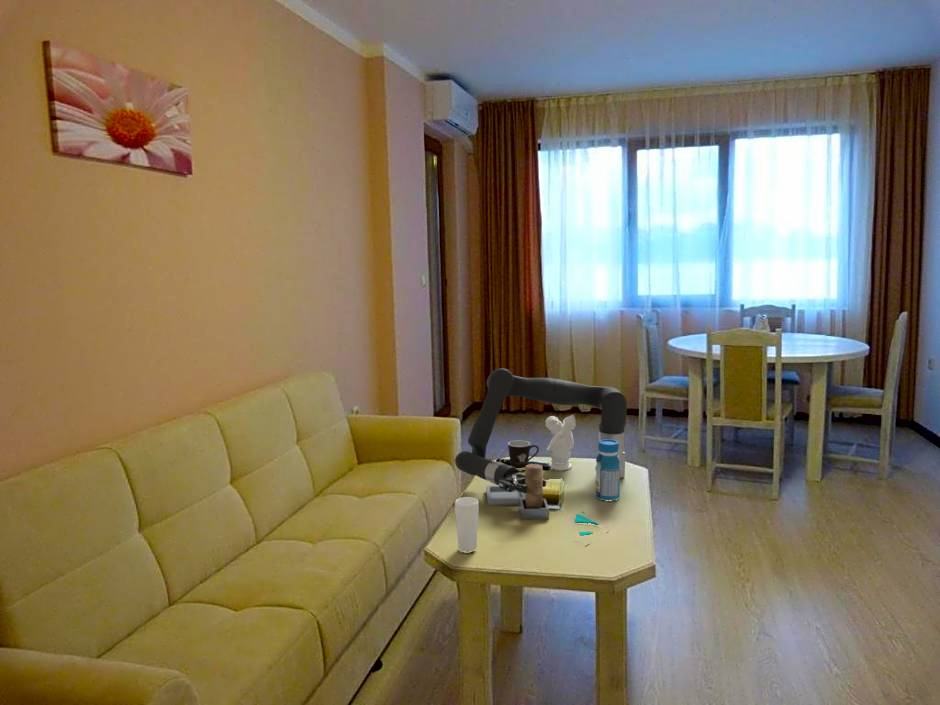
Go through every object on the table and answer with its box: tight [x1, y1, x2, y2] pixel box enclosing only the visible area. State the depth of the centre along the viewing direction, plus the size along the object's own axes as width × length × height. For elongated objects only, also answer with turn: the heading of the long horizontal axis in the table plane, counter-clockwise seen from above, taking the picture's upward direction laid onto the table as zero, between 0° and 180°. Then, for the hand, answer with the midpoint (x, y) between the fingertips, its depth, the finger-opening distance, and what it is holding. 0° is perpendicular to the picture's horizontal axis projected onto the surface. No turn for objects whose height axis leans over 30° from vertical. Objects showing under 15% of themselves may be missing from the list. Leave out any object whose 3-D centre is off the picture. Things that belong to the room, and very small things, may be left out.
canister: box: [524, 463, 544, 508], centre depth 225 cm, size 6×6×16 cm
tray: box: [485, 484, 525, 506], centre depth 240 cm, size 13×13×2 cm
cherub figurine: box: [544, 414, 577, 472], centre depth 272 cm, size 12×12×22 cm
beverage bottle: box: [595, 439, 621, 502], centre depth 239 cm, size 8×8×20 cm
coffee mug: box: [507, 439, 540, 468], centre depth 271 cm, size 12×9×10 cm
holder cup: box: [518, 498, 550, 521], centre depth 226 cm, size 9×9×4 cm
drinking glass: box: [454, 496, 480, 552], centre depth 201 cm, size 7×7×15 cm
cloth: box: [573, 510, 600, 536], centre depth 215 cm, size 26×14×2 cm, turn 161°
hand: (536, 487), depth 224 cm, fingers open, 8 cm apart
